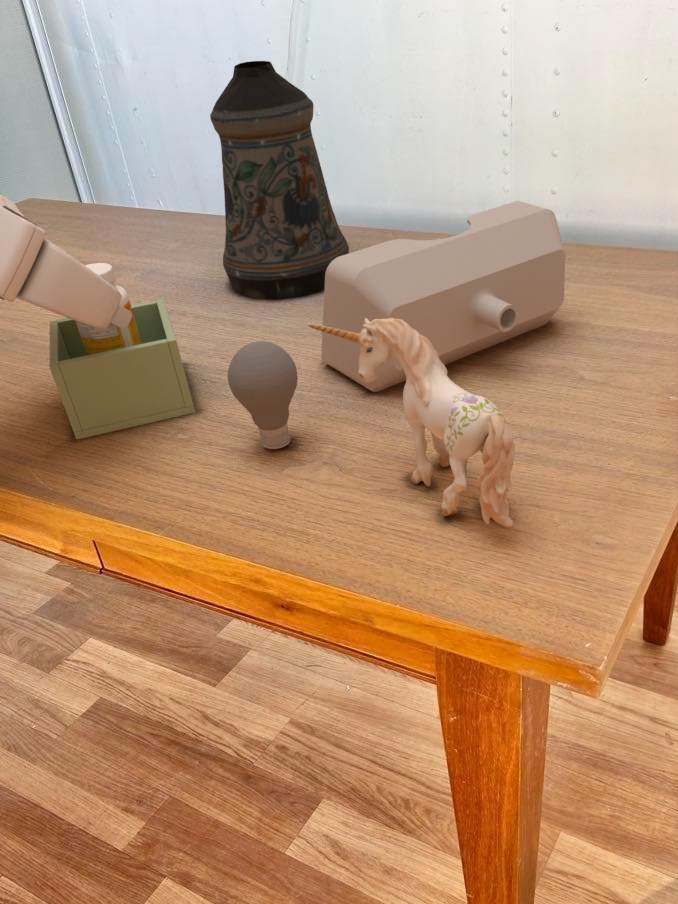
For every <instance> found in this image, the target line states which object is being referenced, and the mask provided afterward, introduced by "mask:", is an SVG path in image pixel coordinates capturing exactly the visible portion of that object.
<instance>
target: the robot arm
mask: <svg viewBox="0 0 678 904" xmlns="http://www.w3.org/2000/svg"><path fill="white" fill-rule="evenodd" d="M46 235H47V234H46V231H45V229H44V228H41V227H40V226H39V225H37V224H36V223H34V222H33V221H31V220H29V219H28V218H26V217H25V215H24V214H23V213H22V212H21V211H20V210H19V209H18V206H17V205H16V204H15V202H14V201H12V200H10V199H8V198H7V197H5V196H4V195H2V194H0V300H2V301H7V302H10V303H13V302H15V300H20V301H22V302H25V303H28V304H31V305H33V306H36V307H39V308H41V309H44V310H46V311H49V312H52V313H54V314H56V315H59V316H62V317H65V318H70V319H72V320H75V321H78V322H80V323H83V324H86V325H89V326H92V327H95V328H99V329H106V328H107V327H108V326H109V324H110V323H112V324H114V325H116V326H118V327H120V328H122V329H125V328H127V327H128V324H129V322H130V320H131V318H132V313H131V312H130V311H129V310H127V309H125V308H123V307H121V306H120V305H119V304H120V302H121V298H122V296H121V294H120V292H119V291H118V290H117V289H116V288H115V287H114V286H112V285H111V284H110V283H109V282H107V281H106V280H105V279H103V278H102V277H100V276H99V275H98V274H96V273H95V272H93V271H92V270H90V269H89V268H88V267H86V266H85V265H86V264H83V263H81V261H79V260H77V259H76V258H74V257H73V256H72V255H70V254H69V253H68V252H66V251H64V250H63V249H62V248H60V247H59V246H57V245H56V244H54V243H53V242H51V241H50V240H48V239H47V238H45V237H46Z"/></svg>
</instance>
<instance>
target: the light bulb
mask: <svg viewBox="0 0 678 904" xmlns="http://www.w3.org/2000/svg"><path fill="white" fill-rule="evenodd" d="M227 382H228V383H227V384H228V386H229V389H230V391H231V393H232V395H233V396H234V398H235V399H236V400H237V401H238V402H239V403H240V404H241V406H242V407H244V408H245V409H246V411H247V412H248V413H249V414H250V416H251V418H252V421H253V423H254V425H255V426H256V427H257V429H258V431H259V436H260V441H261V445H262V447H264V448H265V449H269V450H279V449H282V448H285V447H286V446H288V445H289V443H290V442H291V435H290V431H289V426H288V421H289V419H290V418H289V417H290V405H291V403H292V399H293V397H294V394H295V392H296V389H297V385H298V369H297V365H296V363H295V361H294V360H293V358H292V356H291V355H290V354H289V353H288V352H287V351H286V350H285V349H284V348H282V347H280V346H279V345H278V344H275V343H273V342H270V341H253V342H250V343H248V344H245V345H244V346H242V347H240V348H239V350H237V351H236V353H235V354H234V355H233V357H232V358H231V361H230V363H229V365H228V369H227Z"/></svg>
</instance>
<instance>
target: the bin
mask: <svg viewBox="0 0 678 904" xmlns="http://www.w3.org/2000/svg"><path fill="white" fill-rule="evenodd" d="M131 308H132V311H133V315H134V319H135V322H136V326H137V329H138V333H139V336H140V340H141V343H142V344H139V345H135V346H130V347H125V348H120V349H115V350H111V351H106V352H101V353H96V354H92V355H87V354H86V351H85V348H84V345H83V342H82V339H81V336H80V333H79V330H78V327H77V323H76V321H75V320H72V319H70V318H67V317H65V318H61V319H57V320H56V319H55V320H51V321H49V360H48V363H49V366H48V367H49V370H50V372H51V375H52V378H53V381H54V383H55V387H56V389H57V392H58V394H59V398H60V400H61V402H62V405H63V407H64V410H65V413H66V416H67V419H68V421H69V424H70V427H71V429H72V432H73V434H74V437H75V439H76V440H81V439H86V438H90V437H94V436H98V435H102V434H107V433H112V432H117V431H121V430H125V429H128V428H134V427H138V426H143V425H147V424H152V423H155V422H159V421H164V420H165V421H166V420H168V419H173V418H177V417H181V416H186V415H190V414H195V413H196V409H195V405H194V402H193V398H192V394H191V390H190V387H189V383H188V379H187V375H186V372H185V368H184V364H183V360H182V357H181V354H180V353H181V352H180V350H179V345H178V342H177V338H176V335H175V331H174V328H173V326H172V321H171V317H170V316H169V312H168V308H167V305H166V301H165V299H164V298H162V299H161V298H160V299H156V300H155V299H154V300H151V301H146V302H145V301H144V302H141V303H136V304H135V303H134V304H132V305H131Z"/></svg>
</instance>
